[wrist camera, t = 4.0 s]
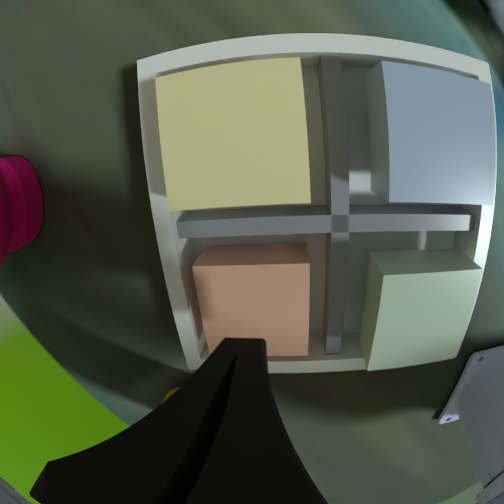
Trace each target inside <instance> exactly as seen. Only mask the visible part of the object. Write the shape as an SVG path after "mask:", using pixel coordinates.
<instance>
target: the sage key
mask: <svg viewBox="0 0 504 504" xmlns="http://www.w3.org/2000/svg"><path fill="white" fill-rule="evenodd" d="M482 270H483V269H482V268H481V267H480V266H479V265H478V264H476V263H475V262H474V261H473V260H472V259H470V258H469V257H468V256H467V255H465V254H464V253H463V252H462V251H460V250H459V249H458V248H456V249H428V250H399V251H369V252H368V265H367V277H366V287H365V296H364V305H363V313H362V320H361V327H360V334H359V343H360V346H361V350H362V354H363V357H364V361H365V365H366V369H367V371H373V370H383V369H391V368H399V367H406V366H413V365H419V364H426V363H431V362H437V361H442V360H448V359H453V358H455V357H456V354H457V352H458V349H459V346H460V344H461V341H462V338H463V336H464V333H465V330H466V327H467V324H468V321H469V318H470V315H471V312H472V308H473V305H474V301H475V298H476V294H477V291H478V287H479V283H480V279H481V274H482Z"/></svg>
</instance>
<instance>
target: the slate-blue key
mask: <svg viewBox="0 0 504 504" xmlns="http://www.w3.org/2000/svg"><path fill="white" fill-rule="evenodd" d="M364 77H365V86H366V96H367V107H368V119H369V136H370V162H371V191H373V192H374V193H376V194H377V195H379V196H381V197H382V198H384V199H385V200H387V201H388V202H414V203H452V204H475V205H493V200H494V186H495V159H496V149H495V122H494V109H493V99H492V91H491V84H489V83H486V82H483V81H480V80H476V79H473V78H469V77H466V76H462V75H458V74H454V73H450V72H446V71H442V70H437V69H432V68H427V67H422V66H416V65H410V64H404V63H397V62H389V61H380V62H379V63H378V64H377V65H375V66H374V67H373V68H372V69H371V70H369V71H368V72H367V73H366V74H365V75H364Z"/></svg>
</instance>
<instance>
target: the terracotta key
mask: <svg viewBox="0 0 504 504" xmlns="http://www.w3.org/2000/svg"><path fill="white" fill-rule="evenodd" d="M192 269H193V275H194V280H195V286H196V291H197V296H198V302H199V307H200V312H201V317H202V322H203V326H204V331H205V336H206V341H207V345H208V350H209V354H211V353H212V352H213V351H214V350H215V348H216V347H217V346H218V345H219V344H220V342H221V341H222V340H223V339H224V338H225V337H228V338H263V339H264V340H265V341H266V346H267V356H308V339H309V297H310V262H309V255H308V249H307V243H290V244H260V245H231V246H207V247H206V248H205V249H204V251H203V252H202V253H201V255H200V256H199V257H198V259H197V260H196V261H195V263H194V264H193V265H192Z"/></svg>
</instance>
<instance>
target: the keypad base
mask: <svg viewBox="0 0 504 504" xmlns="http://www.w3.org/2000/svg"><path fill="white" fill-rule="evenodd" d="M294 57H300V61H301V70H302V79H303V89H304V100H305V111H306V124H307V137H308V153H309V171H310V194H311V203H301V204H275V205H255V206H237V207H221V208H206V209H193V210H181V211H169V206H168V199H167V192H166V185H165V177H164V170H163V161H162V153H161V143H160V134H159V123H158V111H157V98H156V83H155V78H157V77H161V76H165V75H169V74H173V73H178V72H182V71H187V70H192V69H197V68H202V67H208V66H214V65H220V64H227V63H234V62H242V61H251V60H262V59H275V58H294ZM380 61H389V62H397V63H404V64H410V65H416V66H422V67H427V68H432V69H437V70H442V71H446V72H450V73H454V74H458V75H462V76H466V77H469V78H473V79H476V80H480V81H483V82H486V83H489V84H491V91H492V99H493V109H494V122H495V149H496V159H495V186H494V200H493V205H475V204H452V203H414V202H388V201H387V200H385V199H384V198H382V197H381V196H379V195H377V194H376V193H374V192H373V191H371V162H370V136H369V119H368V107H367V96H366V86H365V77H364V75H365V74H366V73H367V72H368V71H369V70H371V69H372V68H373V67H374V66H375V65H377V64H378V63H379V62H380ZM137 74H138V94H139V109H140V121H141V132H142V142H143V151H144V160H145V168H146V175H147V183H148V190H149V196H150V203H151V209H152V215H153V221H154V226H155V232H156V237H157V243H158V248H159V253H160V258H161V263H162V267H163V272H164V277H165V281H166V286H167V290H168V294H169V299H170V303H171V307H172V311H173V315H174V319H175V323H176V326H177V330H178V334H179V338H180V341H181V345H182V348H183V352H184V355H185V359H186V362H187V366H188V369H198V368H199V367H200V366H201V365H202V364H203V363H204V361H205V360H206V359H207V358H208V357H209V356H210V354H209V350H208V345H207V341H206V336H205V331H204V326H203V322H202V317H201V312H200V307H199V302H198V296H197V291H196V286H195V280H194V275H193V269H192V265H193V264H194V263H195V261H196V260H197V259H198V257H199V256H200V255H201V253H202V252H203V251H204V249H205V248H206V247H207V246H231V245H260V244H290V243H307V249H308V255H309V262H310V297H309V339H308V356H267V361H268V373H314V372H336V371H350V370H363V369H366V365H365V361H364V357H363V354H362V350H361V346H360V343H359V334H360V327H361V320H362V313H363V305H364V296H365V287H366V277H367V265H368V252H369V251H399V250H428V249H456V248H458V249H459V250H460V251H462V252H463V253H464V254H465V255H467V256H468V257H469V258H470V259H472V260H473V261H474V262H475V263H476V264H478V265H479V266H480V267H481V268H482V269H483V270H482V274H481V279H480V283H479V287H478V291H479V288H480V284H481V280H482V276H483V271H484V267H485V262H486V257H487V252H488V247H489V241H490V235H491V228H492V221H493V213H494V203H495V191H496V173H497V135H496V117H495V106H494V97H493V89H492V82H491V75H490V70H489V64H488V63H486V62H483V61H481V60H478V59H475V58H472V57H468V56H465V55H462V54H459V53H455V52H451V51H448V50H444V49H440V48H436V47H432V46H427V45H422V44H418V43H412V42H407V41H401V40H395V39H388V38H381V37H372V36H362V35H349V34H328V33H297V34H275V35H262V36H252V37H243V38H235V39H228V40H222V41H216V42H210V43H205V44H199V45H195V46H190V47H185V48H181V49H177V50H173V51H169V52H165V53H161V54H158V55H154V56H151V57H147V58H144V59H141V60H137ZM478 291H477V294H476V298H475V301H474V305H473V308H472V312H473V309H474V306H475V302H476V299H477V295H478ZM472 312H471V315H472ZM471 315H470V318H469V321H468V324H467V327H466V330H467V328H468V325H469V322H470V319H471ZM466 330H465V333H466ZM465 333H464V336H465ZM464 336H463V338H462V341H461V344H462V342H463V339H464ZM461 344H460V346H459V349H460V347H461ZM459 349H458V352H459ZM458 352H457V354H458ZM457 354H456V356H457Z"/></svg>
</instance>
